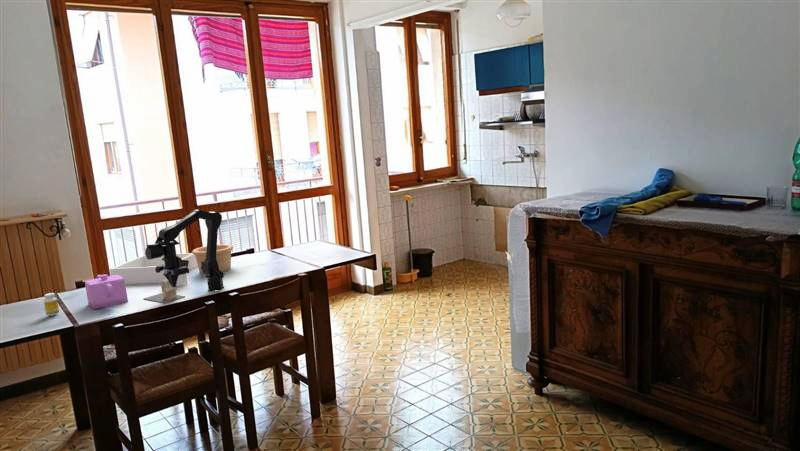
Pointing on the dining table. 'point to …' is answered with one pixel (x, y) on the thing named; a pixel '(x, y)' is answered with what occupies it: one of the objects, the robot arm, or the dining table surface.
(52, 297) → the supplement bottle
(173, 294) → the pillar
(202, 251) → the pottery
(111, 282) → the pink knobbed box
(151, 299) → the mat
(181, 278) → the white upright block
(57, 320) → the dining table surface
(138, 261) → the tub
